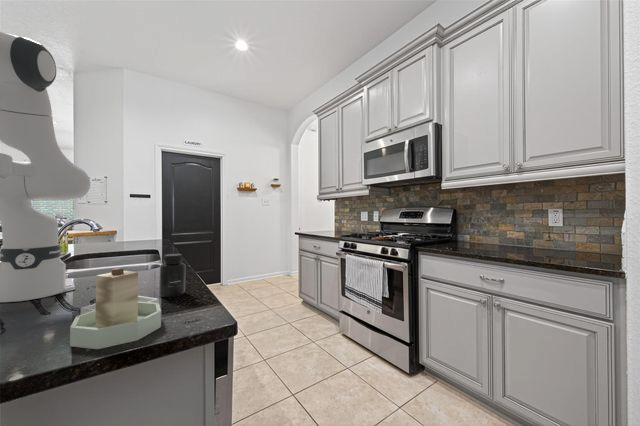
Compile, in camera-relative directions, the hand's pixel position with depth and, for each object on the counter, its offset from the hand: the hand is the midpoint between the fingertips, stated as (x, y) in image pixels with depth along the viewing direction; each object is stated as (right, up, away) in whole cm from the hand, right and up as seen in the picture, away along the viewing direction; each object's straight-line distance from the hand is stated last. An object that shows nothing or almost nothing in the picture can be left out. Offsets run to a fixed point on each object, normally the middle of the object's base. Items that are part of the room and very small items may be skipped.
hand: (19, 172), depth 49 cm
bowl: (+14, -32, +6) cm, 36 cm away
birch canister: (+14, -31, +6) cm, 35 cm away
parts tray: (+7, -32, +17) cm, 37 cm away
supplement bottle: (+12, -32, +30) cm, 46 cm away
